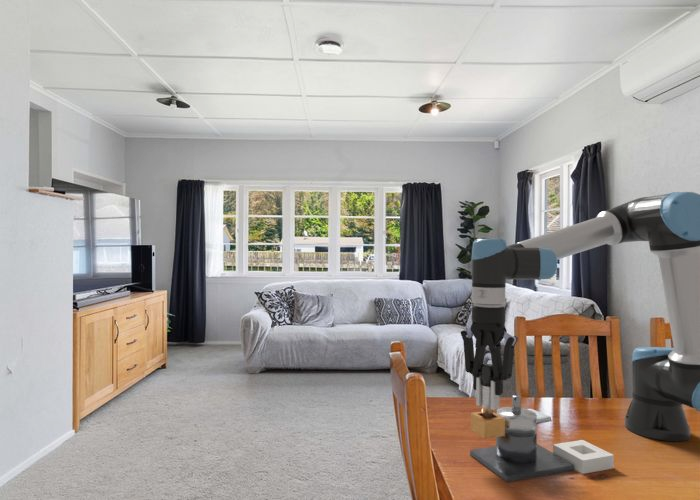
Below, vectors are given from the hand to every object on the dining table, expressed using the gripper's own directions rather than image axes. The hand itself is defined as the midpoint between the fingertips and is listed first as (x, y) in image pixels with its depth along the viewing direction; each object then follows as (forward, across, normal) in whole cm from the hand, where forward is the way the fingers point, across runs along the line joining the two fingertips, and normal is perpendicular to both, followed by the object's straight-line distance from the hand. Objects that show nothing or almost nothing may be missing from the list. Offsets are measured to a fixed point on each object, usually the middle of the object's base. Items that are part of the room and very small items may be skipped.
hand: (487, 406), depth 108 cm
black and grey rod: (+5, 0, 0) cm, 5 cm away
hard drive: (+14, -7, +36) cm, 39 cm away
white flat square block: (+13, +15, +17) cm, 26 cm away
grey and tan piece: (+6, +2, +4) cm, 8 cm away
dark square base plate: (+13, +5, +6) cm, 16 cm away
